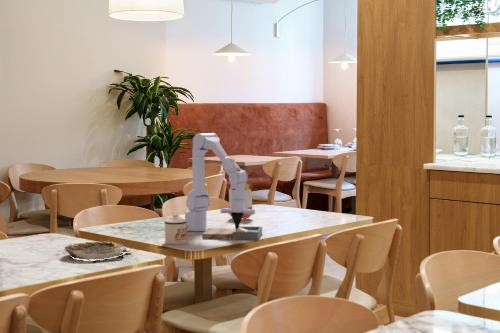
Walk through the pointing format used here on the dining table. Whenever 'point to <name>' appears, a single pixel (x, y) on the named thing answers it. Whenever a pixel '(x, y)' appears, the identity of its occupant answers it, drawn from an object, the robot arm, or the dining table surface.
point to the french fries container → (247, 200)
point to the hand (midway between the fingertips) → (237, 230)
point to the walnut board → (218, 233)
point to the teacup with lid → (175, 230)
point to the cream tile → (241, 230)
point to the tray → (248, 233)
